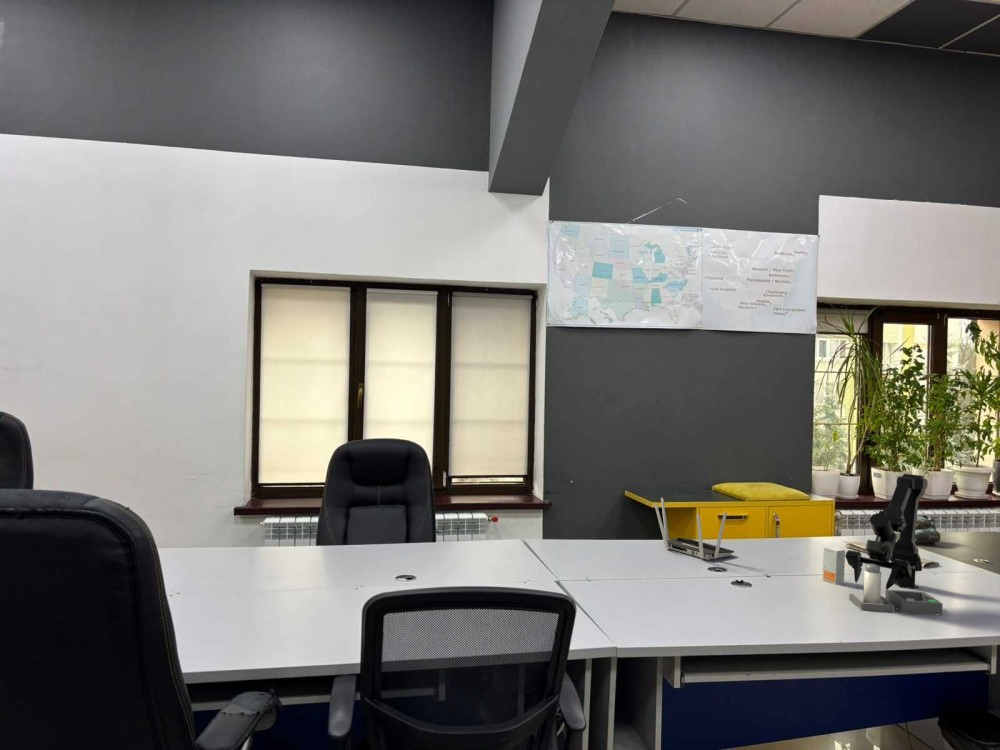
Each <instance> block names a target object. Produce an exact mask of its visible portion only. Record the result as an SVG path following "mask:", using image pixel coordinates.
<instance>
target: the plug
mask: <svg viewBox="0 0 1000 750" xmlns="http://www.w3.org/2000/svg"><path fill="white" fill-rule="evenodd" d="M881 584H882V571H881V567H880V566H879V565H876V564H865V569H864V571H863V595H862V597H863V600H862V602H863V603H877V604H881V603H880V596H881V586H882V585H881Z"/></svg>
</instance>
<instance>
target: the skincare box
mask: <svg viewBox="0 0 1000 750" xmlns="http://www.w3.org/2000/svg"><path fill="white" fill-rule="evenodd" d="M822 555H823V557H822V559H823V560H822V562H823V563H822V580H823V581H826V582H829V583H831V584H834V585H841V584H844V583H845V567H846V566H845V564H846V563H845V562H846V557H845V555H846V550H845V549H842V548H840V547H835V546H830V545H829V546H824V547H823V554H822Z"/></svg>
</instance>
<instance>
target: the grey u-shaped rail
mask: <svg viewBox="0 0 1000 750" xmlns="http://www.w3.org/2000/svg"><path fill="white" fill-rule="evenodd" d="M848 597H849V598H848V599H849V601H850V602H851V601H852V602H851V603H852V604H853V605H854V606H856V607H857V606H858V607H859V610H861V611H872V610H875V612H887V611H895V609H896V608H895V605H893V604H892V603H891V602H889V601H888V600H887V599H885V597H884V596H883V595H880V604H877V603H863V600H861V599H860V598H858V596H856V595H855V594H853V593H849V596H848ZM858 607H857V608H858ZM895 612H896V611H895Z"/></svg>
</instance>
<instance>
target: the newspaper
mask: <svg viewBox="0 0 1000 750" xmlns="http://www.w3.org/2000/svg"><path fill="white" fill-rule="evenodd" d="M842 542H844V543H846V544H845V547H846V548H847V549H849V550H852V551H857V552H860V553H866V554H867V552H868V550H866V545H867V543H864V542H860V541H853V540H852V541H845V540H842ZM920 559H921V562H922V569H925V568H924V566H925V565H927V566H929V565H935V566H934V567H939V566H940V562H938V561H934V560H929V559H925V558H923V557H922V558H921V557H920ZM890 560H891V558H890Z"/></svg>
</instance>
